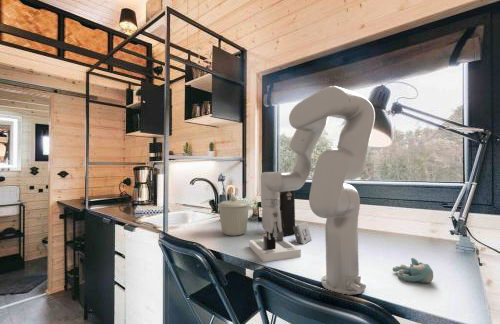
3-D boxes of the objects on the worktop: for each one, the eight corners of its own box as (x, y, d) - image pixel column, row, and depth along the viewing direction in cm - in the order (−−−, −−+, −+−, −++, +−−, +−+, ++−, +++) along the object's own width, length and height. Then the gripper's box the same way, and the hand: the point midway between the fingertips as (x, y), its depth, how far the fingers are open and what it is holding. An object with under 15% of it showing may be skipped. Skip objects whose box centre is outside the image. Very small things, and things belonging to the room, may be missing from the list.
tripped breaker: (272, 248, 107) (271, 235, 107) (265, 249, 106) (265, 235, 106) (270, 246, 109) (270, 233, 109) (263, 247, 108) (263, 234, 108)
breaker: (283, 240, 118) (282, 229, 118) (277, 240, 117) (276, 229, 117) (281, 239, 120) (281, 228, 120) (275, 239, 119) (275, 228, 119)
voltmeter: (269, 230, 150) (268, 187, 151) (281, 228, 154) (281, 186, 155) (283, 237, 136) (282, 189, 137) (297, 235, 140) (296, 188, 140)
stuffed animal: (399, 253, 94) (436, 256, 84) (404, 274, 92) (442, 279, 82) (382, 259, 88) (420, 263, 78) (387, 281, 86) (426, 288, 77)
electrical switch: (303, 245, 122) (301, 225, 123) (293, 244, 126) (291, 224, 126) (312, 240, 130) (310, 221, 130) (302, 239, 133) (300, 221, 134)
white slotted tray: (300, 256, 106) (300, 249, 106) (264, 261, 102) (263, 253, 102) (281, 243, 125) (280, 236, 125) (249, 246, 121) (249, 239, 121)
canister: (239, 239, 133) (238, 198, 133) (211, 235, 142) (210, 196, 142) (256, 231, 149) (255, 194, 149) (230, 228, 158) (229, 193, 158)
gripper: (287, 204, 98) (287, 253, 98) (272, 200, 112) (272, 242, 112) (268, 206, 96) (269, 256, 95) (255, 200, 110) (256, 244, 110)
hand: (271, 248), depth 104 cm, fingers closed
